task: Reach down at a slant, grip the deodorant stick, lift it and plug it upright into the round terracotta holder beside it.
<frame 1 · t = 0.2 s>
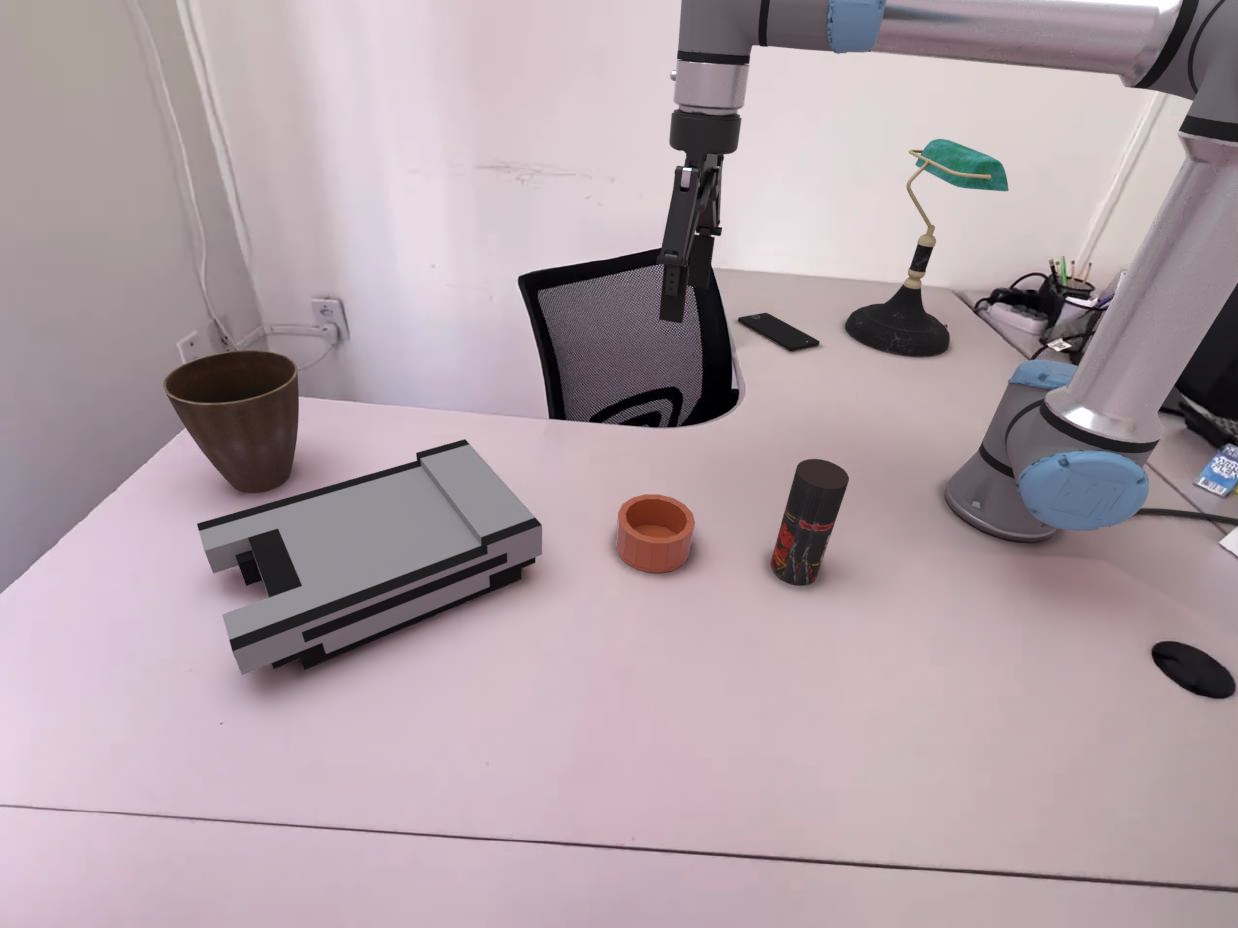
hand: (685, 302, 81), 28 cm above the table, tool pointing down, fingers open, 13 cm apart
deodorant: (793, 569, 83), on the table
cell phone: (777, 333, 147), on the table
flower pot: (263, 478, 91), on the table
game console: (381, 574, 78), on the table
banker's lamp: (895, 336, 151), on the table
holder: (652, 547, 85), on the table
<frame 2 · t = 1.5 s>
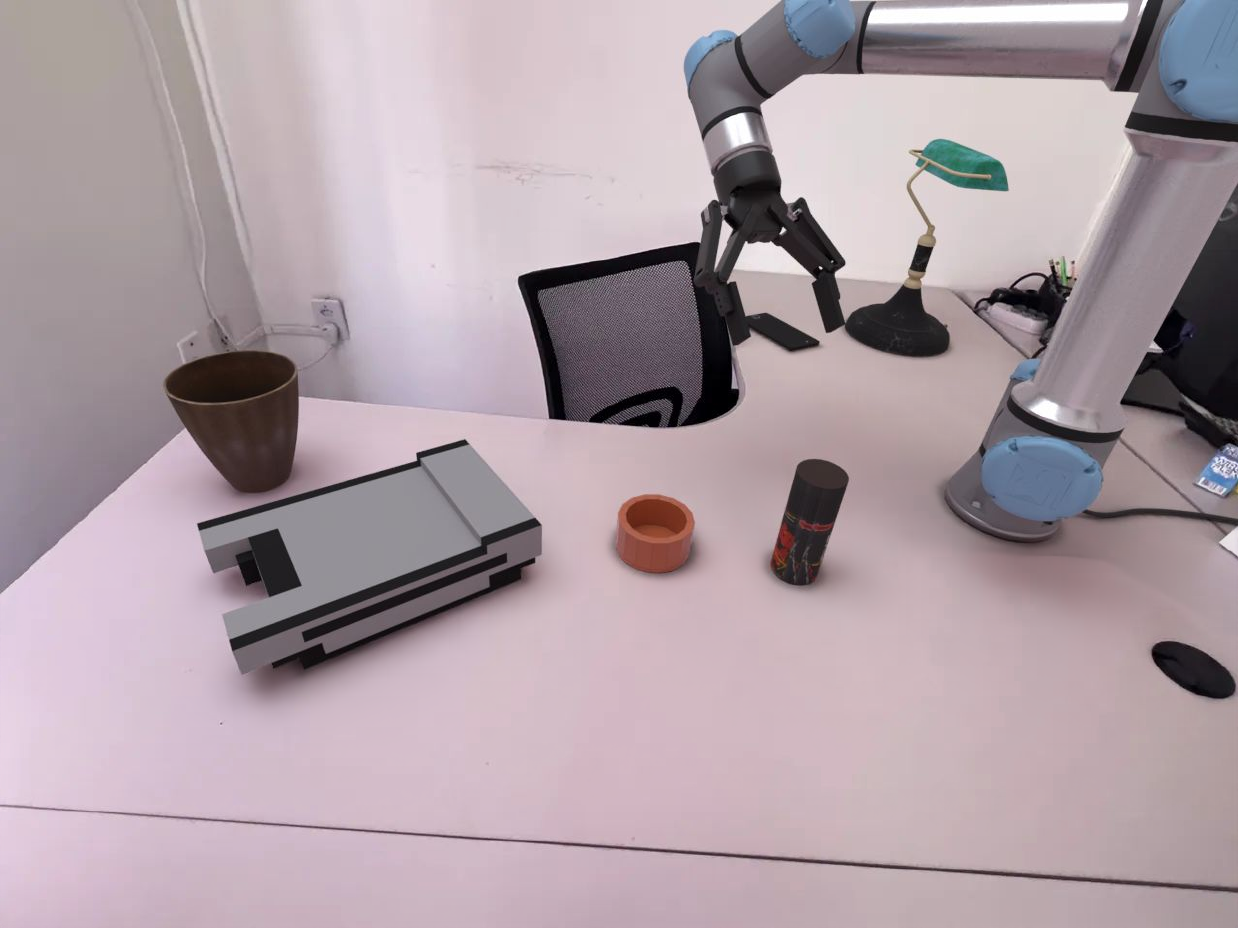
hand: (790, 335, 75), 28 cm above the table, tool tilted 45°, fingers open, 13 cm apart
nothing on the table moved.
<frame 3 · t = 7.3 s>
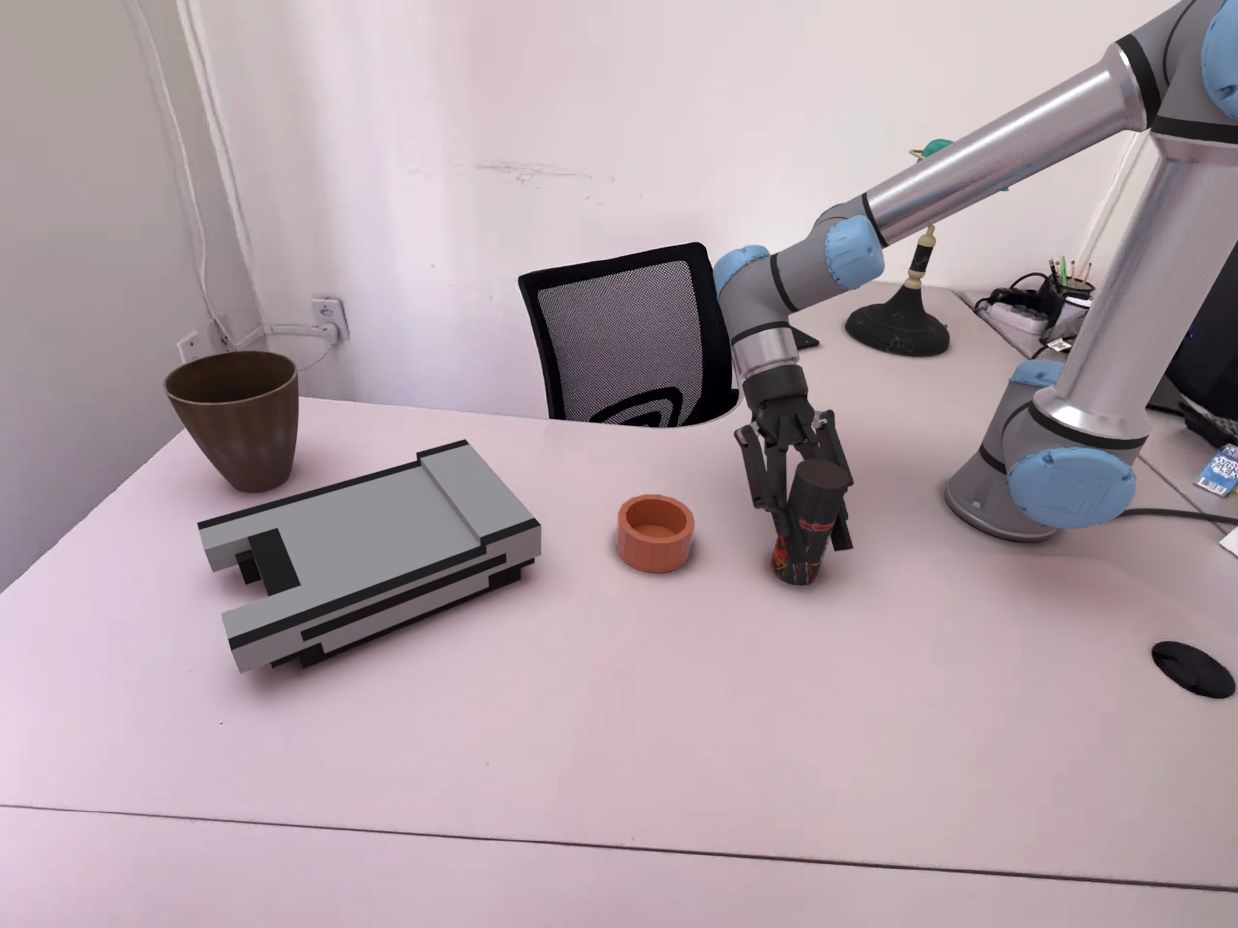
hand: (821, 555, 78), 5 cm above the table, tool tilted 45°, fingers closed on deodorant, 6 cm apart
deodorant: (793, 569, 83), on the table, touching gripper
everything else where it was.
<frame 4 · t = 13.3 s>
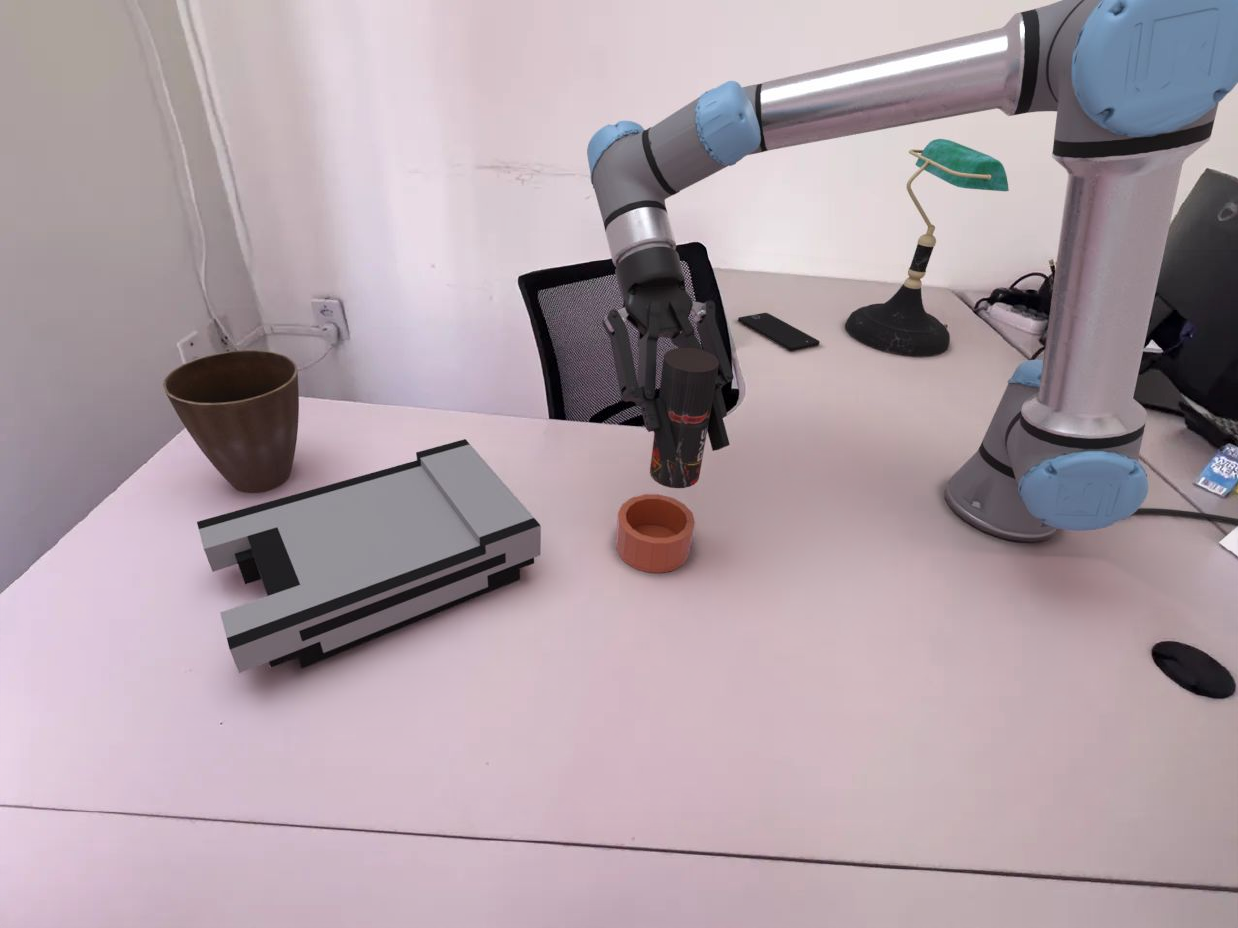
hand: (695, 452, 72), 17 cm above the table, tool tilted 45°, fingers closed on deodorant, 6 cm apart
deodorant: (674, 474, 78), point 12 cm above the table, touching gripper
everything else where it was.
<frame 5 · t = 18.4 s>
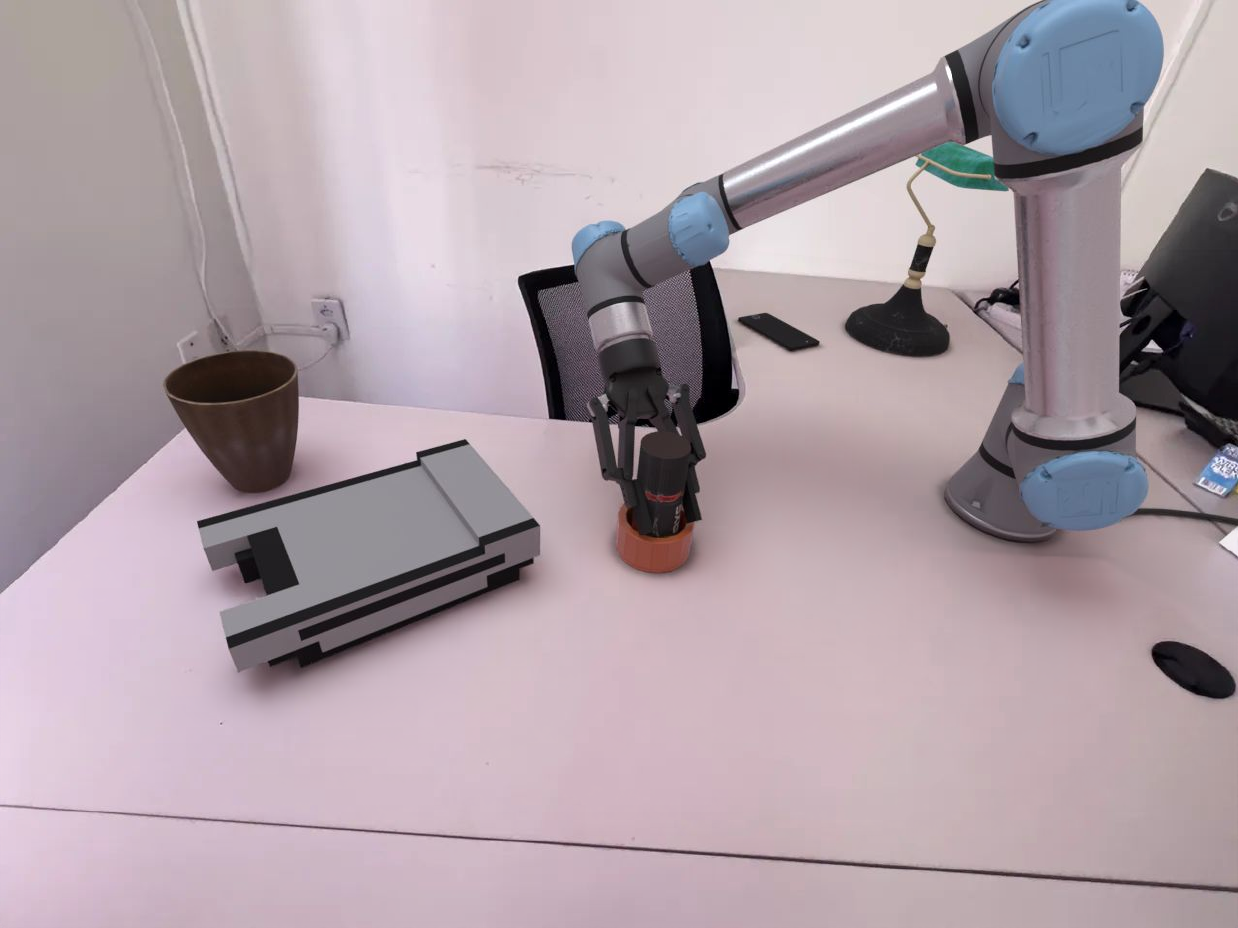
hand: (670, 527, 79), 6 cm above the table, tool tilted 45°, fingers closed on deodorant, 6 cm apart
deodorant: (652, 542, 85), point 1 cm above the table, touching gripper
everything else where it was.
when the fingers open (7 cm above the table, at t = 19.3 s): deodorant stays where it is, resting on holder.
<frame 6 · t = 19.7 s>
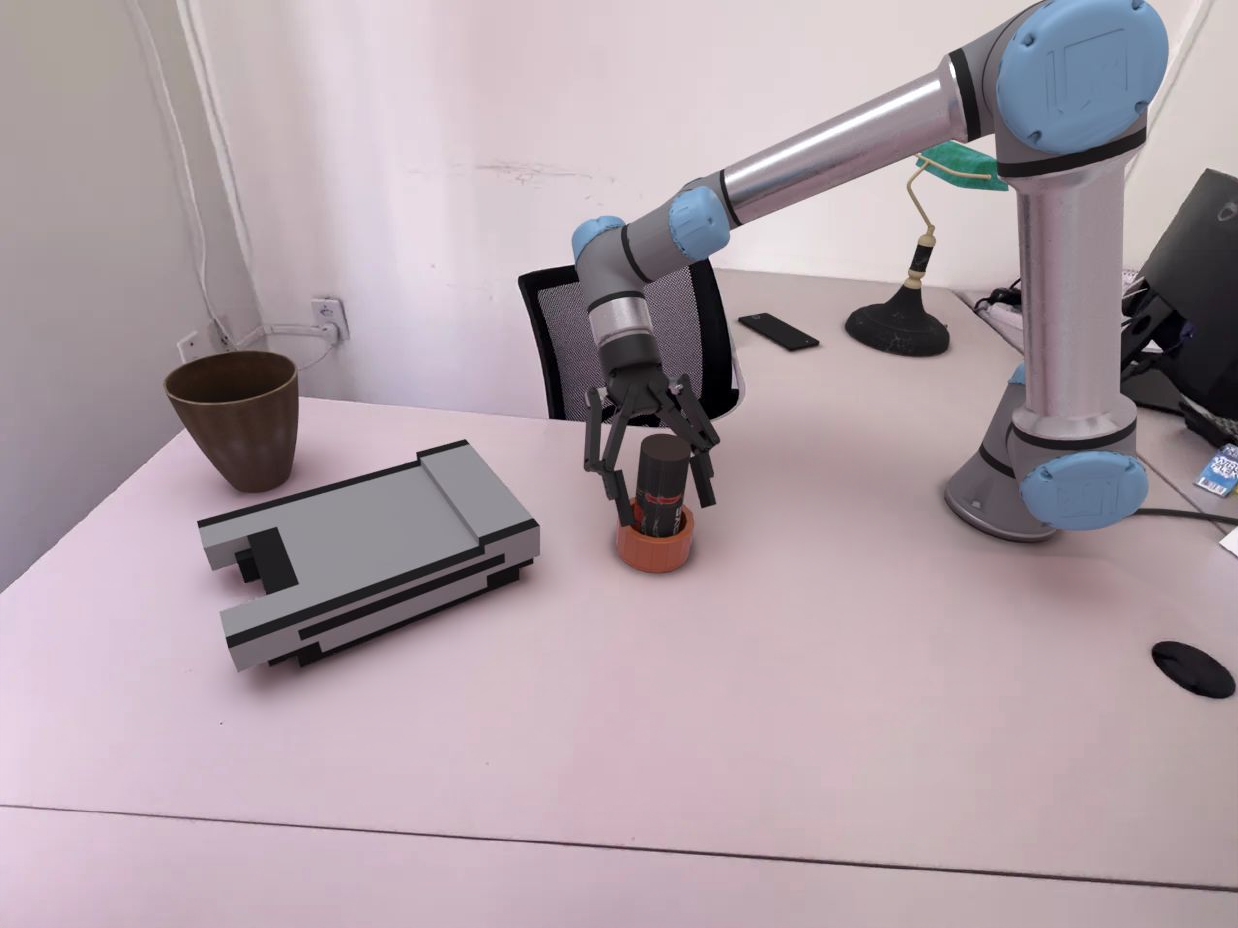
hand: (669, 515, 78), 8 cm above the table, tool tilted 45°, fingers open, 10 cm apart
deodorant: (653, 544, 85), resting on holder
everything else where it was.
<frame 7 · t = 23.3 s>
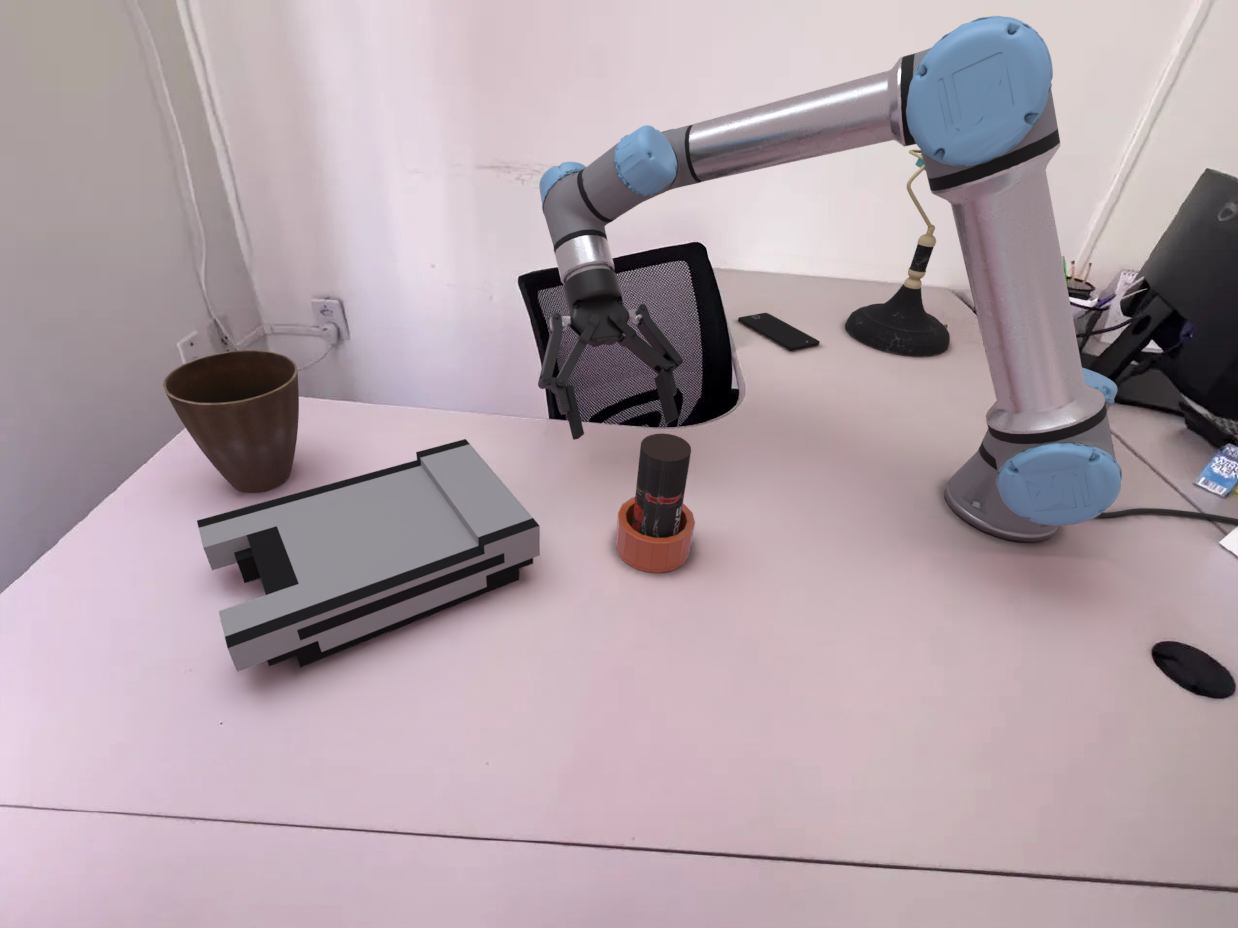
hand: (626, 428, 86), 12 cm above the table, tool tilted 45°, fingers open, 13 cm apart
nothing on the table moved.
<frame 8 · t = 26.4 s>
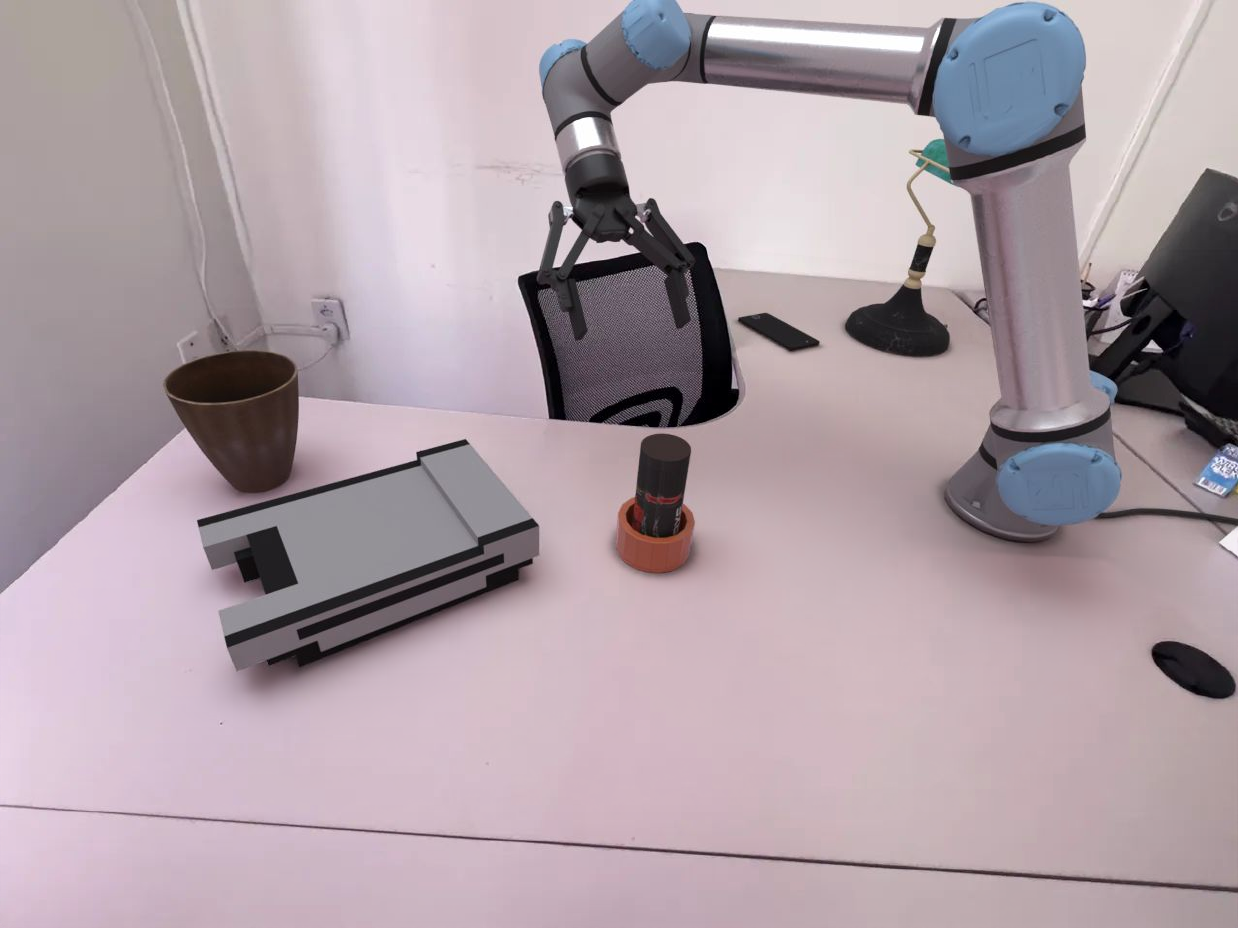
hand: (634, 330, 78), 26 cm above the table, tool tilted 45°, fingers open, 13 cm apart
nothing on the table moved.
at the end: deodorant 0.0 cm off-centre in the holder, point 0.4 cm above the holder's base; deodorant tilted 0°; the gripper is holding nothing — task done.
